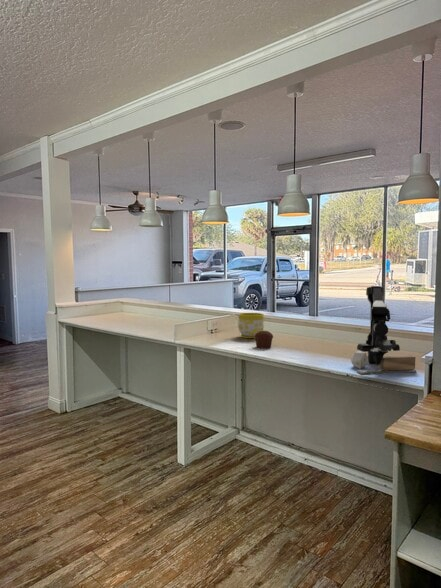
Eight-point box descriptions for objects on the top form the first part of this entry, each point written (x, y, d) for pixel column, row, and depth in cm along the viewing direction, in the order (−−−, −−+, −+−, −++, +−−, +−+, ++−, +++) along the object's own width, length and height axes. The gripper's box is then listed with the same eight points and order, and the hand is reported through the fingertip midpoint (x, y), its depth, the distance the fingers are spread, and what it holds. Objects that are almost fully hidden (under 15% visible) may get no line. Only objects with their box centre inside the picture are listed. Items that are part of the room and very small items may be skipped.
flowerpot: (232, 336, 290) (232, 313, 289) (251, 334, 302) (251, 312, 300) (250, 340, 276) (250, 316, 275) (269, 337, 288) (269, 314, 287)
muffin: (252, 348, 251) (253, 332, 250) (255, 345, 261) (255, 329, 261) (272, 349, 248) (272, 332, 247) (274, 345, 258) (274, 330, 258)
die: (350, 370, 202) (361, 356, 197) (344, 358, 209) (355, 344, 204) (363, 374, 204) (375, 361, 200) (357, 362, 211) (368, 349, 207)
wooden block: (380, 368, 196) (380, 356, 196) (411, 367, 198) (411, 355, 198) (383, 370, 193) (384, 357, 193) (415, 369, 195) (415, 356, 195)
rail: (356, 372, 195) (356, 370, 195) (411, 370, 199) (411, 368, 199) (361, 374, 191) (361, 372, 191) (416, 372, 195) (416, 370, 195)
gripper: (369, 335, 183) (368, 370, 185) (407, 334, 186) (406, 368, 187) (357, 331, 194) (356, 364, 196) (393, 330, 197) (392, 363, 198)
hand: (377, 365), depth 194 cm, fingers closed
